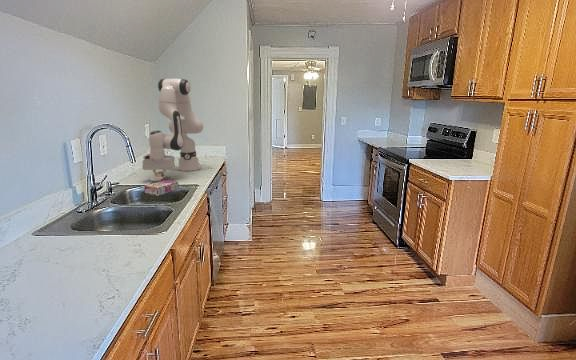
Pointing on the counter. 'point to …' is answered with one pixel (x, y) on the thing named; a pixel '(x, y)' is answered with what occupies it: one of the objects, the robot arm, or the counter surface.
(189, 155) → the robot arm
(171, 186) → the candy bar box
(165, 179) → the mat
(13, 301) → the counter surface
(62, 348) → the counter surface
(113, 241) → the counter surface
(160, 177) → the wooden handled scraper
